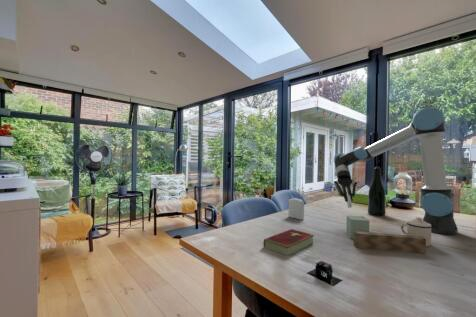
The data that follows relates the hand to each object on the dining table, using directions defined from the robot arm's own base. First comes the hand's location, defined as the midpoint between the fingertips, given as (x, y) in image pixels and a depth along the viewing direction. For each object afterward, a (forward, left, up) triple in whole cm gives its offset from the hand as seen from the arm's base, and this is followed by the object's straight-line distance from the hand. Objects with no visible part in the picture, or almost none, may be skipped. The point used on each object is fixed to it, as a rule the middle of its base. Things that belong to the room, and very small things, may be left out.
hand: (350, 206), depth 125 cm
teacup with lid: (-24, +15, -12) cm, 31 cm away
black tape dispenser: (+22, +58, -13) cm, 64 cm away
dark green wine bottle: (-27, -39, -12) cm, 49 cm away
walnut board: (-8, +28, -12) cm, 31 cm away
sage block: (0, +13, -12) cm, 18 cm away
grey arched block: (+28, -14, -12) cm, 33 cm away
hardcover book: (+33, +33, -13) cm, 48 cm away
